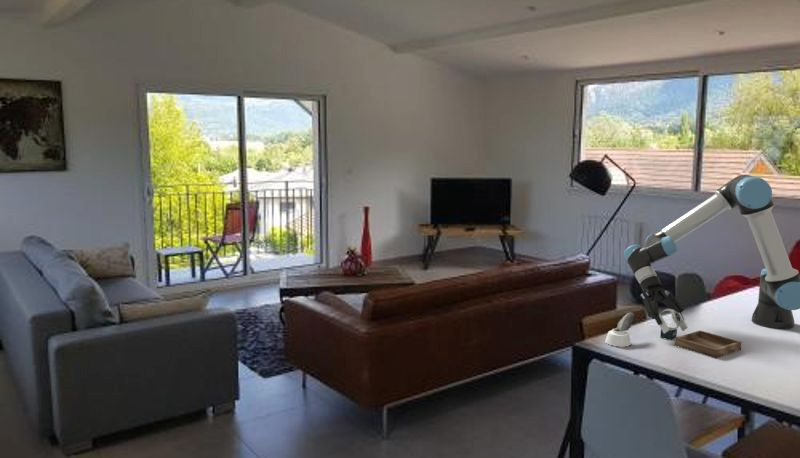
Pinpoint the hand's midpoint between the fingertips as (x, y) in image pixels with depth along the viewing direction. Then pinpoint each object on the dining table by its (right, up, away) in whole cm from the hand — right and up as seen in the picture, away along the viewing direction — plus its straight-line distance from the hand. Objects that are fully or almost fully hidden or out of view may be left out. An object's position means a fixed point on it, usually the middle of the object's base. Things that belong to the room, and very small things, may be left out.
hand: (675, 330), depth 237 cm
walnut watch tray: (+8, -5, -8) cm, 12 cm away
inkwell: (-20, -4, 0) cm, 21 cm away
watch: (-1, -3, +4) cm, 5 cm away
